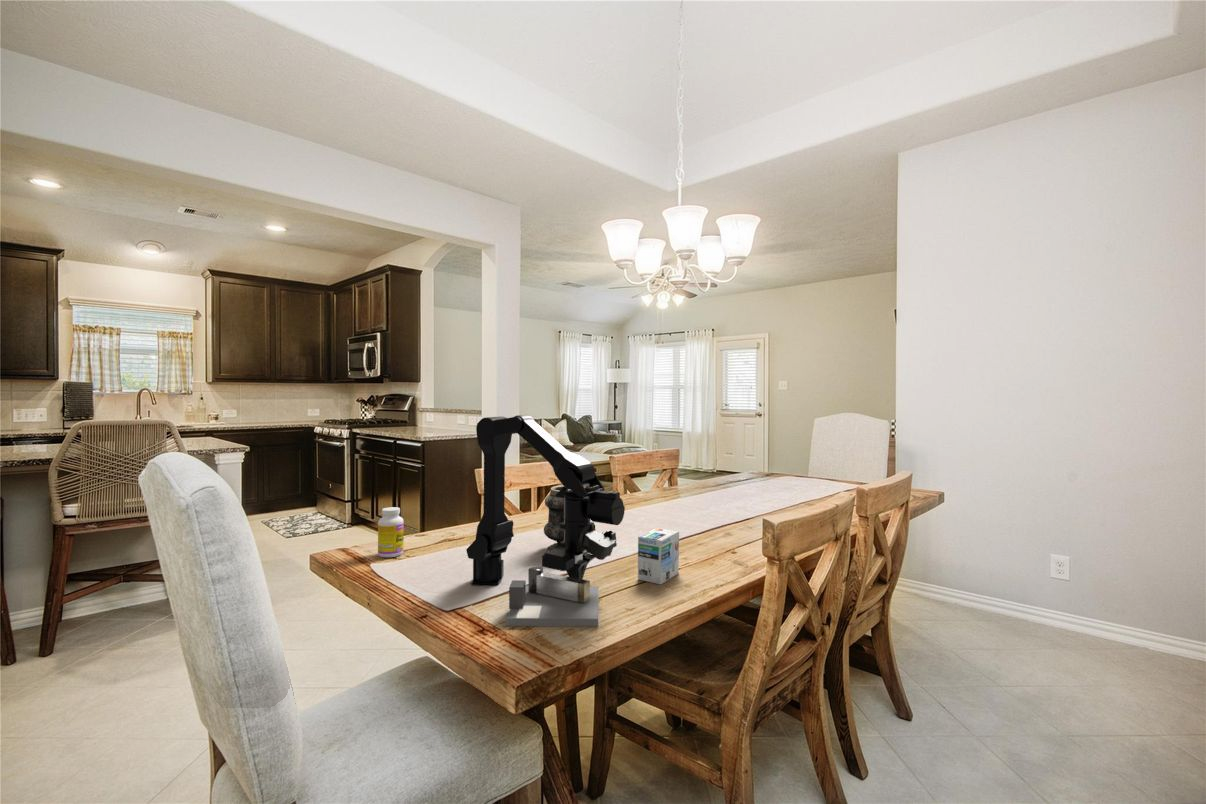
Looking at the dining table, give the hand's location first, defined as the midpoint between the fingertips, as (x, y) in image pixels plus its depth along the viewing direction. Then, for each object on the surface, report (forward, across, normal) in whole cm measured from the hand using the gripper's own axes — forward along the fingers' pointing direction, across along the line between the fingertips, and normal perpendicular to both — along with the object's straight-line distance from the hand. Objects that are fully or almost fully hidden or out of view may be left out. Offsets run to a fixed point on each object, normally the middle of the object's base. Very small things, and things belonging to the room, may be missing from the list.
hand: (577, 588), depth 119 cm
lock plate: (+3, -5, +2) cm, 6 cm away
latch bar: (+1, -3, +3) cm, 4 cm away
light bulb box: (+4, +24, -8) cm, 26 cm away
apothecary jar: (+4, +30, +24) cm, 39 cm away
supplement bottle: (+3, 0, +62) cm, 62 cm away
